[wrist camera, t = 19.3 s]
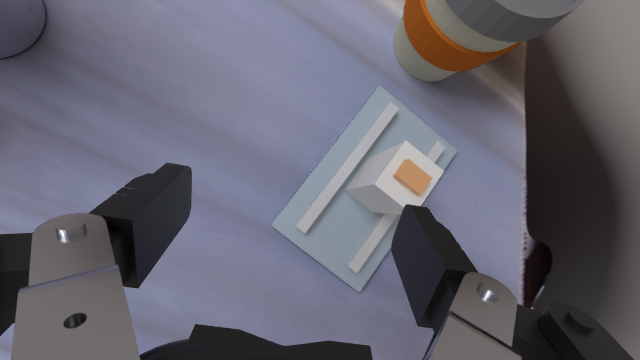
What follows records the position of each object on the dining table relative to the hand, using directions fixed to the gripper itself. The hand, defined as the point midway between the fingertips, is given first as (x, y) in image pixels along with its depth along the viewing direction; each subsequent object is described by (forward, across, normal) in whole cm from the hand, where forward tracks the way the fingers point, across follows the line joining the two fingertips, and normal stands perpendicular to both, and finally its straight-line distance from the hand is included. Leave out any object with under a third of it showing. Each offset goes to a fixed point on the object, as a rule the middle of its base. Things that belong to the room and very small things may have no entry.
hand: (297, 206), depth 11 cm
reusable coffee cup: (+31, -13, -8) cm, 34 cm away
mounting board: (+21, -8, +8) cm, 24 cm away
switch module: (+20, -8, +8) cm, 23 cm away
